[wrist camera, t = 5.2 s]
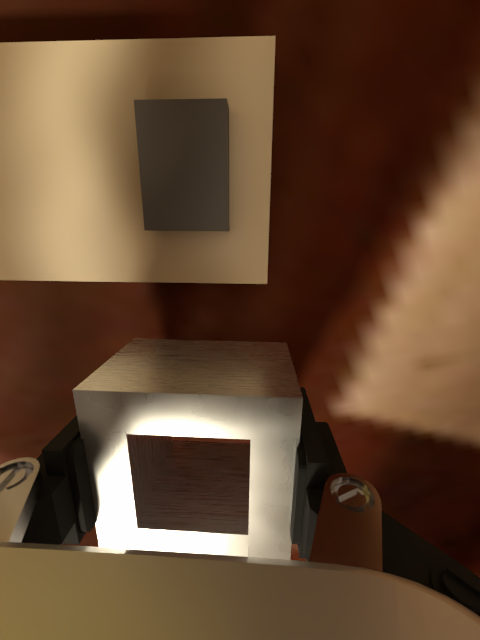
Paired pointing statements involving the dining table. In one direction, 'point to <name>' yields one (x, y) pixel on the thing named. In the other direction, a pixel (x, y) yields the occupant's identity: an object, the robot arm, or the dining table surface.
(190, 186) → the peg board
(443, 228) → the dining table surface
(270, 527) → the link
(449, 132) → the dining table surface
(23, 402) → the dining table surface
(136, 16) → the dining table surface
